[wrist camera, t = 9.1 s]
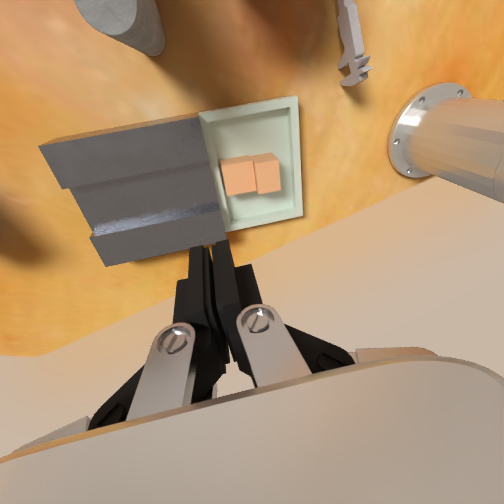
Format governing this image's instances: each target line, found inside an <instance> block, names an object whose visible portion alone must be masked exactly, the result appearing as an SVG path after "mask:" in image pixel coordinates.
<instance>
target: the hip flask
mask: <svg viewBox="0 0 504 504" xmlns="http://www.w3.org/2000/svg"><path fill="white" fill-rule="evenodd" d="M74 1H75V4H76V6H77V8H78V10H79V12H80V13H81V15H82V16H83V18H84V19H85V20H86V21H87V22H88V23H89V24H90V25H91V26H92V27H93V28H95V29H96V30H98V31H99V32H101V33H103V34H105V35H107V36H109V37H111V38H113V39H115V40H117V41H120V42H122V43H124V44H126V45H128V46H130V47H132V48H134V49H136V50H138V51H140V52H142V53H144V54H146V55H148V56H158V55H159V54H161V53H162V52H163V50H164V48H165V44H166V39H165V34H164V30H163V25H162V21H161V18H160V14H159V10H158V7H157V4H156V1H155V0H74Z"/></svg>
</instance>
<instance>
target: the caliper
mask: <svg viewBox="0 0 504 504" xmlns="http://www.w3.org/2000/svg"><path fill="white" fill-rule="evenodd" d="M337 3H338V8H339V16H338V17H337V22H338V25H339V30H340V36H341V39H342V42H343V44H344V49H345V52H344V53H343V55H342V57H341V59H340V61H339V63H338V70H339V69H341V68H344V67H346V66H348V65H349V67H350V72H351V74H350V75H348V76H347V77H346V78H344V79H343V80H341V81H340V83H341V85H342V86H353V85H356V84H358V83H360V82H362V81H363V80H365V79H367V78H368V73H367V72H368V71H369V70H371V69H372V67H371V66H368V65H367V66H365V65H366V64H367V63H368V61H369V58H370V55H368V56H366V57H363V54H364V46H363V40H362V34H361V28H360V22H359V17H358V11H357V5H356V3H354V0H337Z"/></svg>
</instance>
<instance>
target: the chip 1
mask: <svg viewBox="0 0 504 504" xmlns="http://www.w3.org/2000/svg"><path fill="white" fill-rule="evenodd" d="M220 165H221V170H222V175H223V180H224V186H225V190H226V194H227V196H231V195H236V194H242V193H247V192H252V191H257V190H256V182H255V174H254V166H253V160H252V158H251V157H250V156H249V155H245V156H239V157H234V158H228V159H223V160H220Z"/></svg>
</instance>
